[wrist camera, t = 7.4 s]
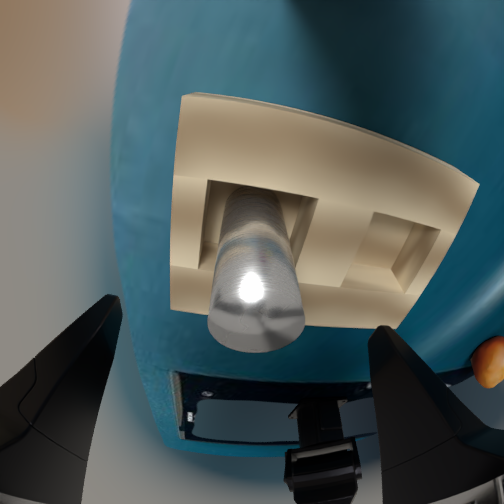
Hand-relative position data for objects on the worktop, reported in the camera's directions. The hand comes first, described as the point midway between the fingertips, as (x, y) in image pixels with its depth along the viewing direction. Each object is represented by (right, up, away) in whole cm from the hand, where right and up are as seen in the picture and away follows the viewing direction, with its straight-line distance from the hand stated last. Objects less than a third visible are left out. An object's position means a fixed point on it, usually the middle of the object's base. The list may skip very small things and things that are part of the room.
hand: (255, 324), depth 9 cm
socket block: (+4, +4, +7) cm, 9 cm away
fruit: (+36, -12, +20) cm, 42 cm away
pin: (0, +5, +7) cm, 8 cm away
